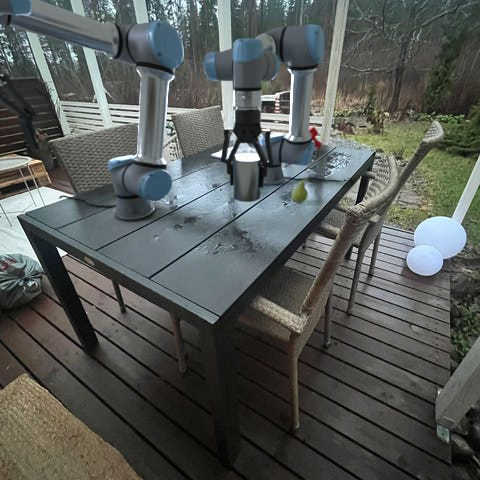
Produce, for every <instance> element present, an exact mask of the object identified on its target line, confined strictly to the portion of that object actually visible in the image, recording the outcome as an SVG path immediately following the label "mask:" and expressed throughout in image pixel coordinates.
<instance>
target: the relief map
mask: <svg viewBox="0 0 480 480" xmlns="http://www.w3.org/2000/svg"><path fill="white" fill-rule="evenodd" d="M233 147H234V146H232V147H228V153H227V158H228V157H229V155H230V153H231V151H232V149H233ZM244 153H250V154H257V151H256V149H255V148H254V147H252V146H250V145H249V143H241V144H240V146H239V148H238V150H237V152H236V154H235V155H237V154H244ZM221 154H222V149H221V150H219V151H218V152H215V153H211V155H210V157H213V158H218V159H221ZM257 155H258V154H257Z"/></svg>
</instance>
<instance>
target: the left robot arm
mask: <svg viewBox="0 0 480 480" xmlns="http://www.w3.org/2000/svg"><path fill="white" fill-rule="evenodd" d="M0 25H1V26H6V27H10V28H14V29H18V30H21V31H24V32H28V33H32V34H35V35H39V36H42V37H47V38H49V39H52V40H56V41H59V42H60V41H61V42H63V43H68V44H71V45H75V46H77V47H82V48H85V49H88V50H93V51H96V52H100V53H104V54H105V56H106V57H107V58H109V59H112V60H115V61H118V62H122V63H124V64H127V65H131V66H134V67H135V69H136V71H137V72H138V74H139V76H140V86H139V87H140V89H139V108H138V130H137V131H138V133H137V151H136V154H132V155H124V156H123V155H122V156H118V157H115V158H114V157H113V158H112V159H110V160H108V161H107V169H108V172H109V176H110V180H111V183H112V187H113V190H114V193H115V197H116V202H115V204H110V205H109V204H95V203H91V202H90V201H89V200H87V199H85V198H81V197H72V196H68V195H64V194H63V195H60V196H59V197H58V199H62V198H66V199H70V200H77V201H82V202H86V203H87V204H88V205H90V206H92V207H98V208H115V215H116V218H117V219H119V220H120V221H125V222H127V221H128V222H132V221H133V222H134V221H140V220H144V219H146V218H148V217H151V216H152V215H153V214H154V213H155V210H156V209H155V205H154V202H157V201H161V200H163V199H165V197H166V196H168V195H169V193H170V191H171V189H172V185H173V179H172V176H171V175H170V173H169V172H168V171H167V169H168V167H167V166H168V163H167V162H166V159H164V150H165V137H166V125H167V124H166V122H167V109H168V96H169V84H170V82H172V80H174V78H175V70H176V68H178V67H179V66H180V65H181V64H182V62H183V59H184V45H183V42H182V39H181V37H180V36H179V32H178V30H177V29H176V28H175V27H174V26H173V25H172V24H170V23H169V22H167V21H164V20H151V21H149V22H143V23H142V22H141V23H134V24H119V23H116V22H112V21H109V20H108V21H106V22H105V23H104V22H102V21H98V20H96V19H93V18H91V17H88V16H85V15H82V14H79V13H76V12H74V11H70V10H68V9H64V8H62V7H59V6H57V5H53V4H51V3H48V2H45V1H43V0H0ZM0 87H1V88H2V89H3V90H4V92H6V94H7V95H8V96H9V97H10V99H12V100H13V101H12V100H10V99H9V98H8V97H7V96H5V94H3V92H1V91H0V105H1V106H3V107H4V108H5V109H7V111H9V112H11V113H12V114H13V115H15V116H16V117H17V118H19V119H20V120H19V121H18V124H19V127H20V130H21V132H22V134H23V136H24V139H25V141H26V143H27V146H28V148H29V149H31V150H39V149H40V146H39V144H38V141H37V138H36V136H35V135H36V134H37V131H36V129H35V126H34V120H35V118H37V117H38V115H39V114H38V112H37V111H36V110H35V108H34V107H33V106H32V105H31V104H30V103H29V102H28V101H27V100H26V98H25V97H24V96H23V95H22V94H21V93H20V91H19V90H18V89H17V88H16V87H15V86H14V85H13V82H12V81H11V79H10V77H9V75H7V74H6V73H4V74H3V73H0Z"/></svg>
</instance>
